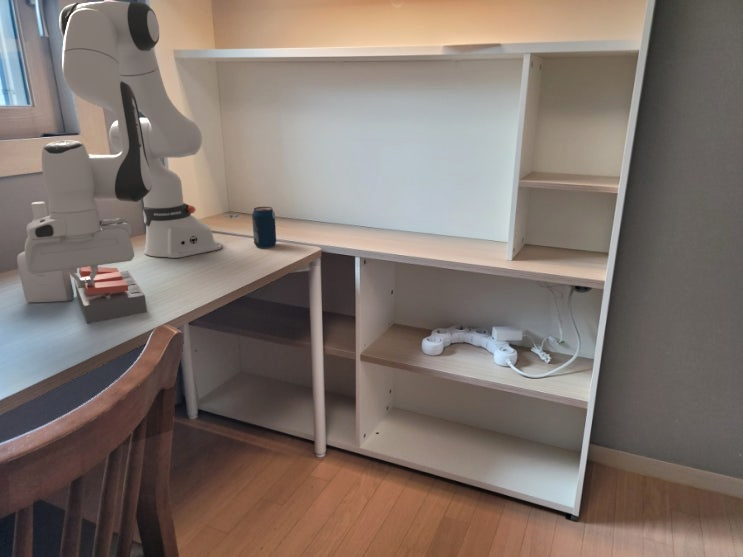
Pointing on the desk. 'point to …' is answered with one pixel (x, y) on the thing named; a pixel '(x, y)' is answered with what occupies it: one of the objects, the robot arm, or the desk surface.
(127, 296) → the rocker switch panel
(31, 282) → the photo printer
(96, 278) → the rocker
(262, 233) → the soda can
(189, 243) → the robot arm
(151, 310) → the desk surface
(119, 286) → the block
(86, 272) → the block
